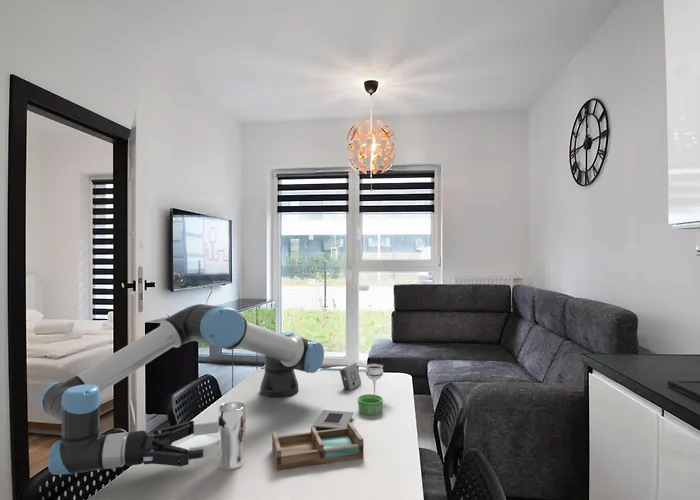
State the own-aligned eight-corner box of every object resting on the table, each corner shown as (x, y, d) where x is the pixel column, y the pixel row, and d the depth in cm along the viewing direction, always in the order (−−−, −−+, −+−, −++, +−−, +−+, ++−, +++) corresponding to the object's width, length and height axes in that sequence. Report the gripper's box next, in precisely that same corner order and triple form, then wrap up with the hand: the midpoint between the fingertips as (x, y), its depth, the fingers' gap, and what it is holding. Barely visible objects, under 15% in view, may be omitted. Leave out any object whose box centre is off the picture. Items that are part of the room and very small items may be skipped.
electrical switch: (351, 391, 164) (349, 367, 164) (340, 390, 166) (338, 367, 167) (361, 384, 172) (359, 362, 173) (351, 384, 174) (349, 362, 175)
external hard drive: (219, 445, 118) (182, 464, 107) (199, 439, 122) (162, 456, 111) (219, 439, 118) (182, 457, 107) (199, 433, 122) (162, 450, 111)
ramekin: (357, 406, 147) (357, 393, 148) (382, 406, 147) (382, 394, 147) (357, 415, 138) (357, 402, 139) (383, 416, 138) (383, 403, 138)
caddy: (272, 449, 114) (272, 431, 114) (350, 438, 121) (350, 421, 121) (277, 471, 102) (277, 451, 103) (363, 458, 109) (363, 439, 109)
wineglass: (371, 393, 161) (371, 362, 161) (386, 396, 157) (386, 365, 157) (362, 398, 155) (362, 366, 155) (377, 401, 151) (377, 369, 152)
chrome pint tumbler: (221, 457, 109) (221, 401, 110) (247, 456, 110) (247, 401, 110) (214, 471, 103) (215, 411, 103) (242, 470, 103) (243, 410, 103)
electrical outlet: (345, 435, 124) (345, 427, 124) (312, 432, 126) (312, 424, 126) (353, 418, 137) (353, 411, 137) (323, 416, 139) (323, 409, 139)
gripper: (137, 441, 111) (219, 432, 117) (112, 493, 87) (217, 477, 93) (137, 414, 111) (219, 405, 117) (112, 458, 87) (217, 444, 93)
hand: (218, 437), depth 105 cm, fingers open, 13 cm apart
